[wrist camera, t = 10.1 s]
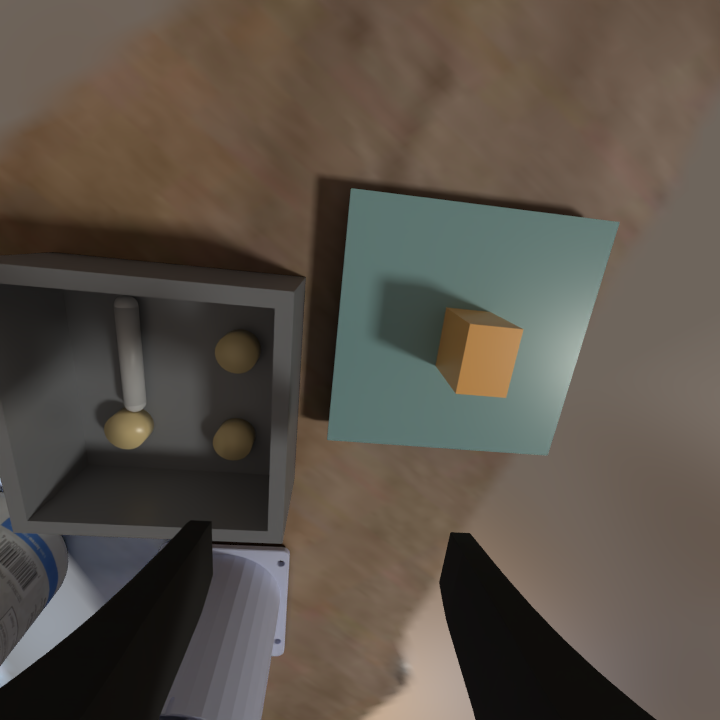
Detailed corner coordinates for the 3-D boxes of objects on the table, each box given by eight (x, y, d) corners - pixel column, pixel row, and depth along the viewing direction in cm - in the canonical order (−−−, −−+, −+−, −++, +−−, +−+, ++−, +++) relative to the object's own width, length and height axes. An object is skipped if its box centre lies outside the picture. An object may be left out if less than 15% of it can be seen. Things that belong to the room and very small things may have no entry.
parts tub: (294, 478, 23) (282, 543, 18) (84, 467, 22) (13, 532, 17) (305, 277, 19) (294, 291, 14) (52, 252, 18) (-51, 258, 13)
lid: (533, 440, 23) (586, 496, 18) (328, 425, 22) (324, 480, 17) (596, 223, 19) (686, 219, 14) (350, 191, 18) (353, 176, 13)
